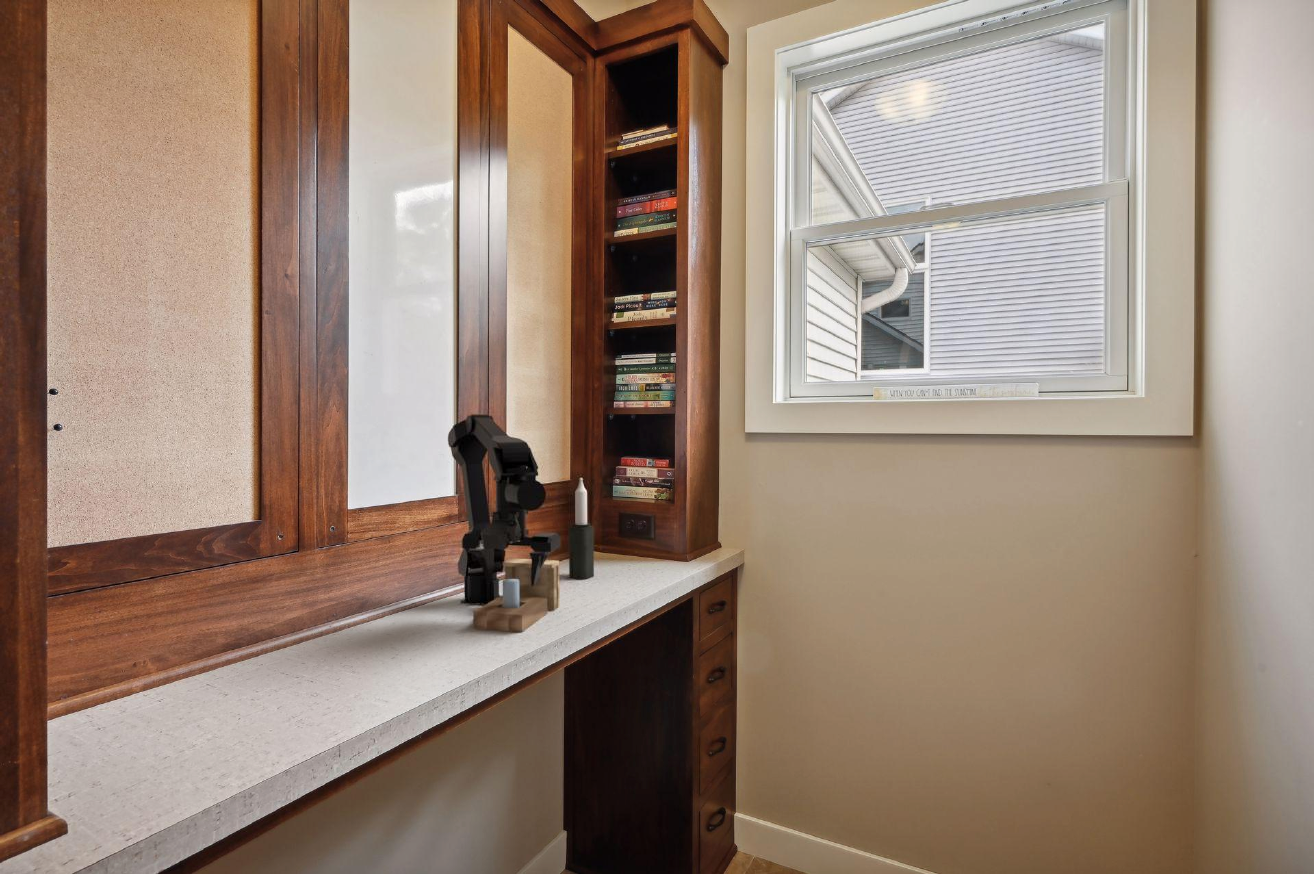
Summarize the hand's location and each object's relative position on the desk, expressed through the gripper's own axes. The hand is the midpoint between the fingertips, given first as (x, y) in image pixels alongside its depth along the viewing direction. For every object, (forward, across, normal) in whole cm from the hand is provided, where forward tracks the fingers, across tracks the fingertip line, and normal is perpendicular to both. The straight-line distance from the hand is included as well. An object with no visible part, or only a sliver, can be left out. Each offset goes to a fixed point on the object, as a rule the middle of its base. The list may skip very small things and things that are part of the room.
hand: (511, 584), depth 131 cm
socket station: (+7, 0, +3) cm, 8 cm away
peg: (+7, 0, 0) cm, 7 cm away
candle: (+7, +1, +38) cm, 39 cm away
